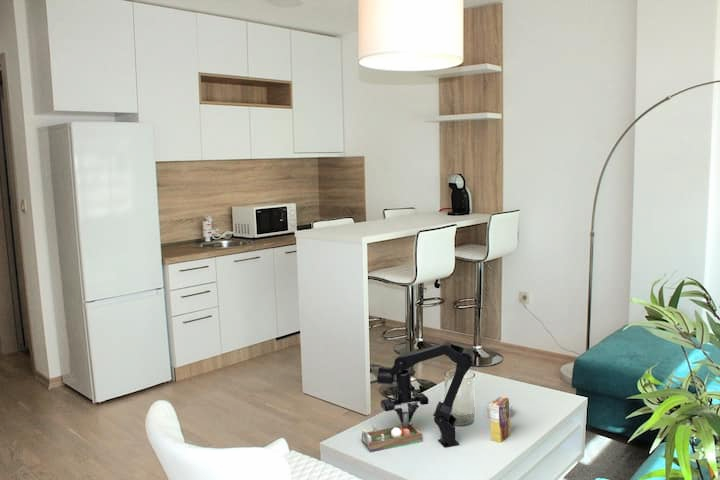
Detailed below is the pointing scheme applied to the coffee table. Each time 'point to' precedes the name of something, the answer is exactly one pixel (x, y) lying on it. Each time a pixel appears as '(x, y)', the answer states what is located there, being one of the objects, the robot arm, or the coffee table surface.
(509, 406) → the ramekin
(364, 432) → the tray
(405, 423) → the cylinder
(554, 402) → the coffee table surface
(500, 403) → the candy box
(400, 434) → the ball
